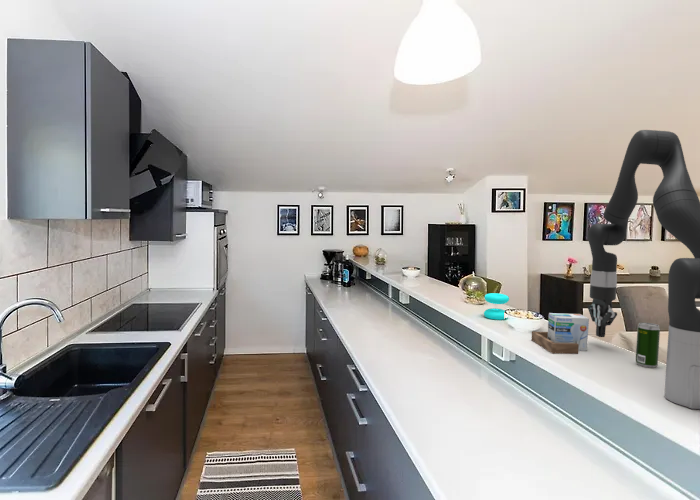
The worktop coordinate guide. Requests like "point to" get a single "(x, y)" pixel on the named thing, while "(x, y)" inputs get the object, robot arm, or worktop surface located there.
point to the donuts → (493, 312)
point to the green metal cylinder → (647, 345)
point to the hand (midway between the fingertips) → (600, 336)
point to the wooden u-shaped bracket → (554, 344)
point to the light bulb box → (568, 329)
